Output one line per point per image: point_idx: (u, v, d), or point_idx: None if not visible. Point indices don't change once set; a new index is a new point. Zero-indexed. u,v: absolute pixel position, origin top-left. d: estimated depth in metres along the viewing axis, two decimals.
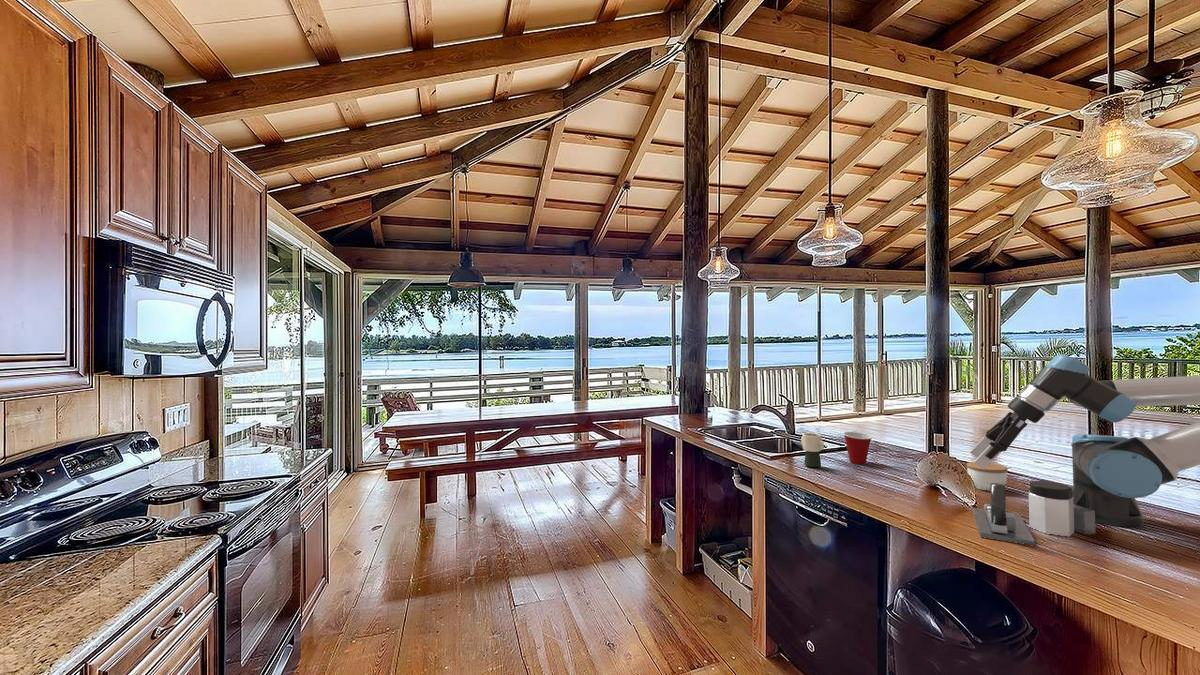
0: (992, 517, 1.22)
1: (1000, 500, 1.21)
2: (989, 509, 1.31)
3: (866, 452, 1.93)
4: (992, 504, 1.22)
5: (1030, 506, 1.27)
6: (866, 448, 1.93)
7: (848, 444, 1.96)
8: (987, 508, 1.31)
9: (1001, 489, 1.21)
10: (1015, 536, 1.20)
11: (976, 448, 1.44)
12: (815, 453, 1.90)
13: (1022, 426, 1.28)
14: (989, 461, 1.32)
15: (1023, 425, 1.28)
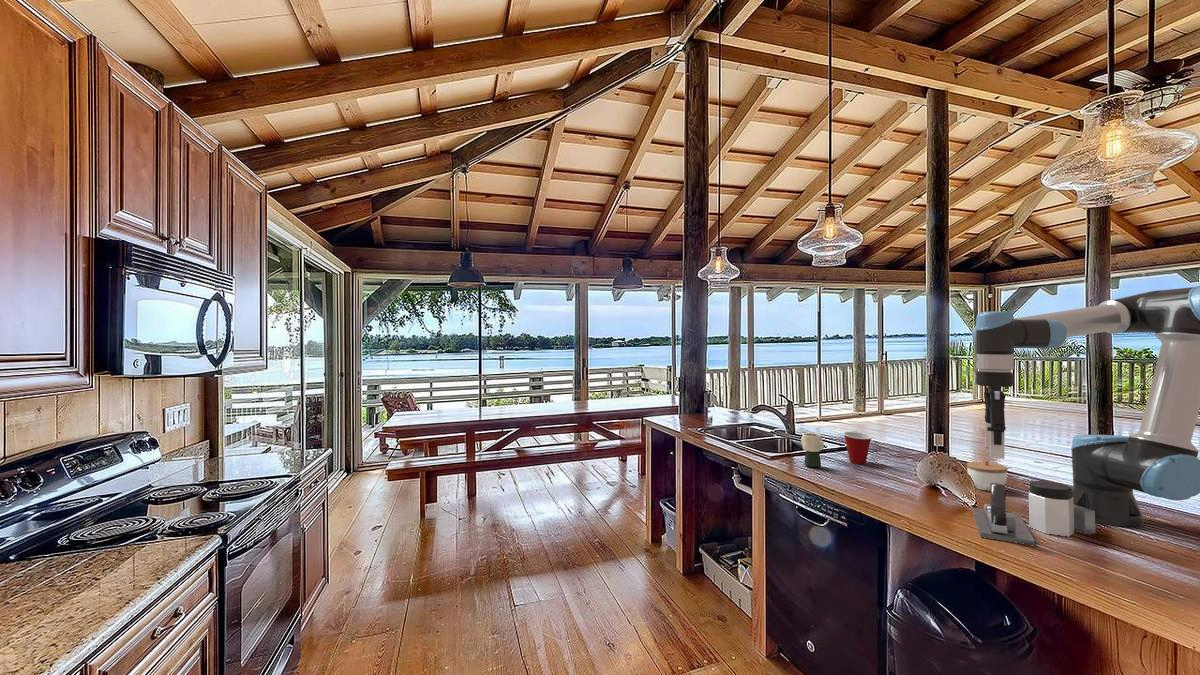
0: (992, 517, 1.22)
1: (1000, 500, 1.21)
2: (989, 509, 1.31)
3: (866, 452, 1.93)
4: (992, 504, 1.22)
5: (1030, 506, 1.27)
6: (866, 448, 1.93)
7: (848, 444, 1.96)
8: (987, 508, 1.31)
9: (1001, 489, 1.21)
10: (1015, 536, 1.20)
11: (987, 439, 1.29)
12: (815, 453, 1.90)
13: (1001, 396, 1.17)
14: (1002, 447, 1.17)
15: (1001, 395, 1.17)
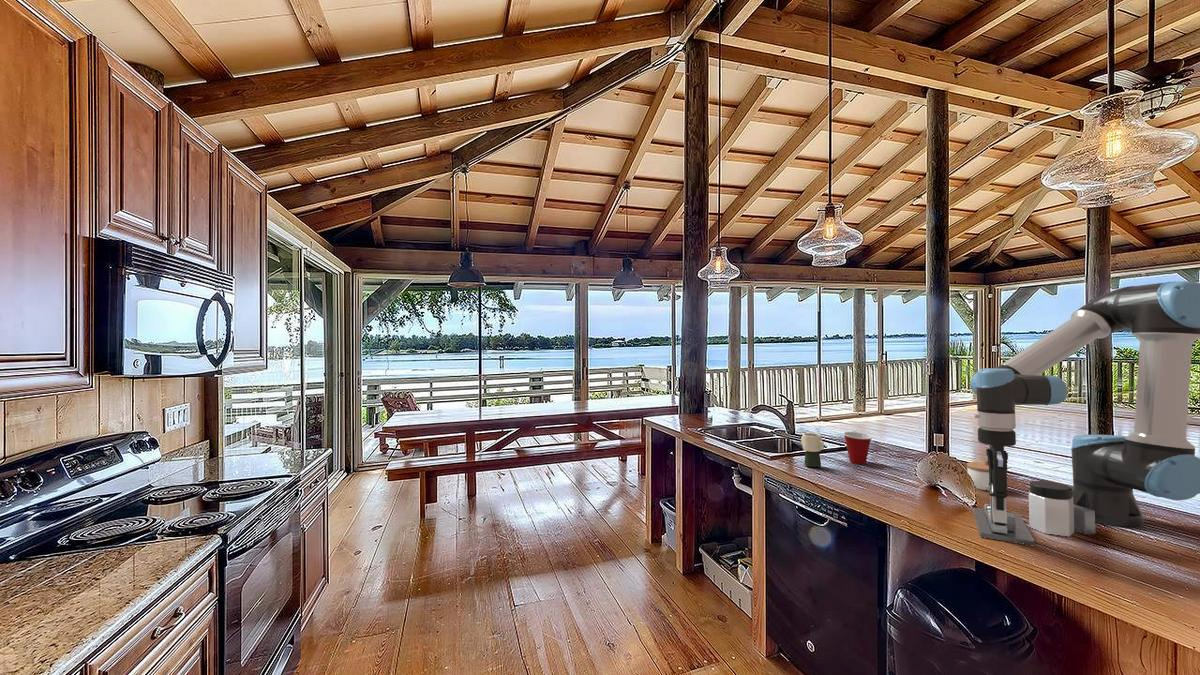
0: (992, 517, 1.22)
1: None
2: (989, 509, 1.31)
3: (866, 452, 1.93)
4: None
5: (1030, 506, 1.27)
6: (866, 448, 1.93)
7: (848, 444, 1.96)
8: (987, 508, 1.31)
9: None
10: (1015, 536, 1.20)
11: None
12: (815, 453, 1.90)
13: (1004, 465, 1.17)
14: (1004, 512, 1.20)
15: (1004, 464, 1.16)
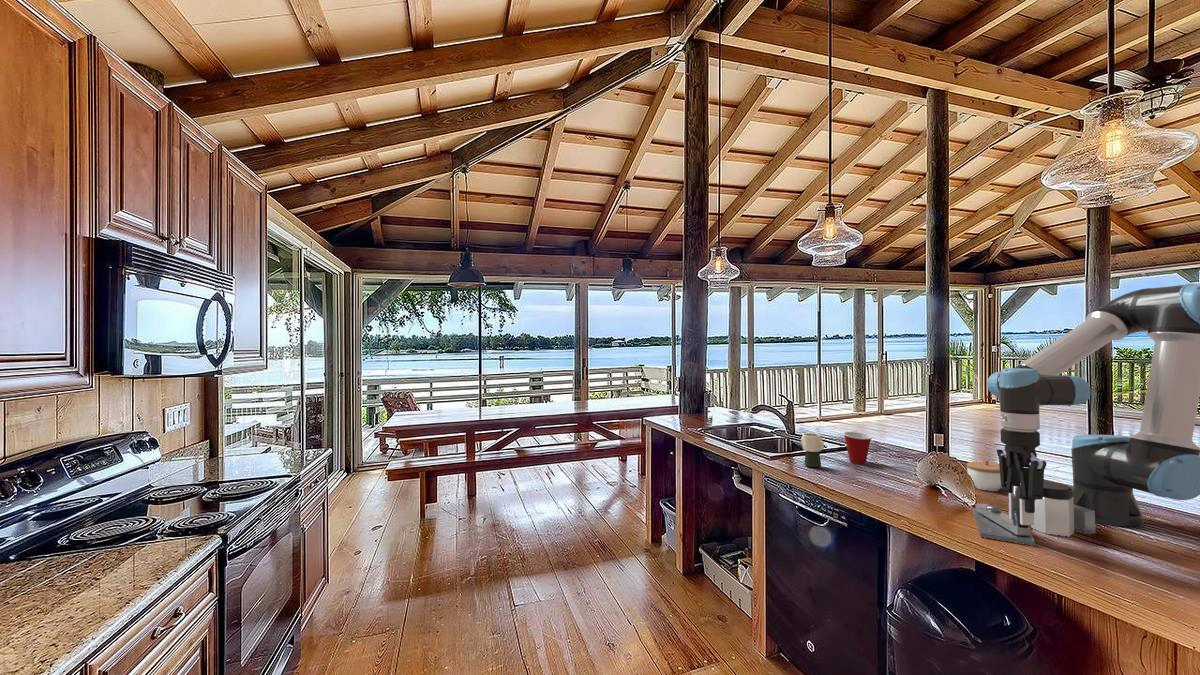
0: (1016, 520, 1.20)
1: None
2: (992, 510, 1.30)
3: (866, 452, 1.93)
4: (1016, 507, 1.20)
5: None
6: (866, 448, 1.93)
7: (848, 444, 1.96)
8: (989, 509, 1.31)
9: None
10: (1015, 536, 1.20)
11: None
12: (815, 453, 1.90)
13: (1043, 467, 1.14)
14: (1032, 514, 1.18)
15: (1043, 466, 1.14)
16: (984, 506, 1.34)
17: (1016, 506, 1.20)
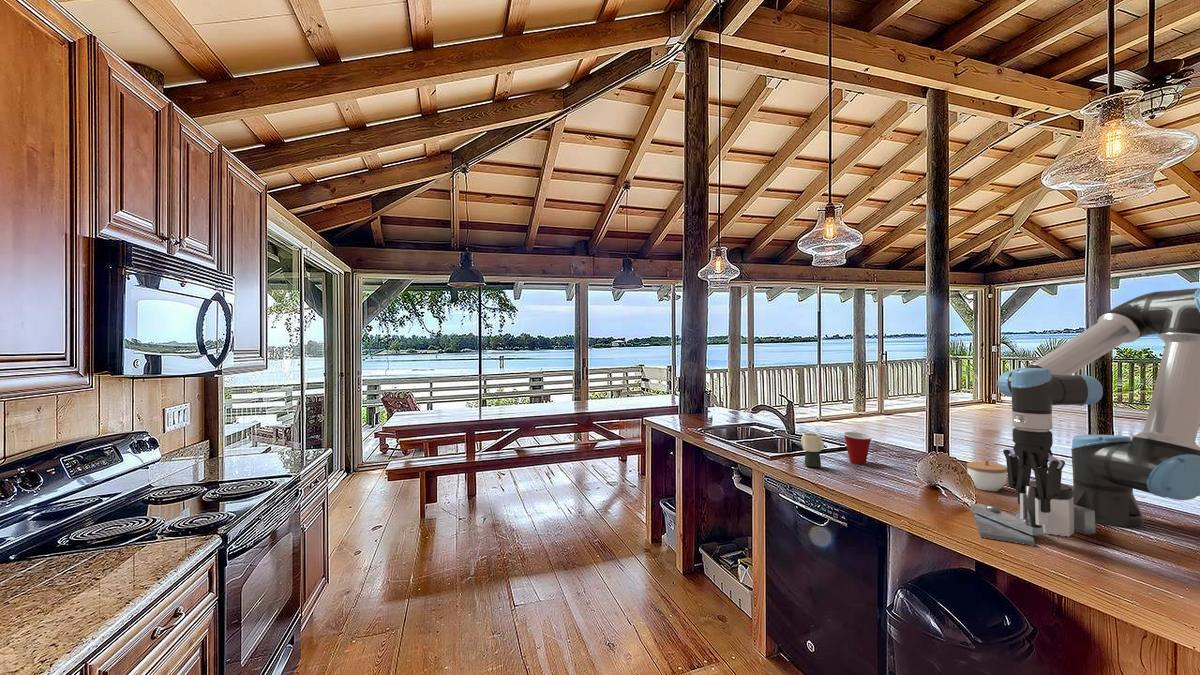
0: (1031, 520, 1.19)
1: None
2: (994, 510, 1.30)
3: (866, 452, 1.93)
4: (1032, 507, 1.19)
5: None
6: (866, 448, 1.93)
7: (848, 444, 1.96)
8: (991, 509, 1.30)
9: None
10: (1015, 536, 1.20)
11: (1024, 510, 1.22)
12: (815, 453, 1.90)
13: (1062, 466, 1.14)
14: (1046, 514, 1.18)
15: (1062, 465, 1.14)
16: (981, 506, 1.34)
17: (1031, 506, 1.19)
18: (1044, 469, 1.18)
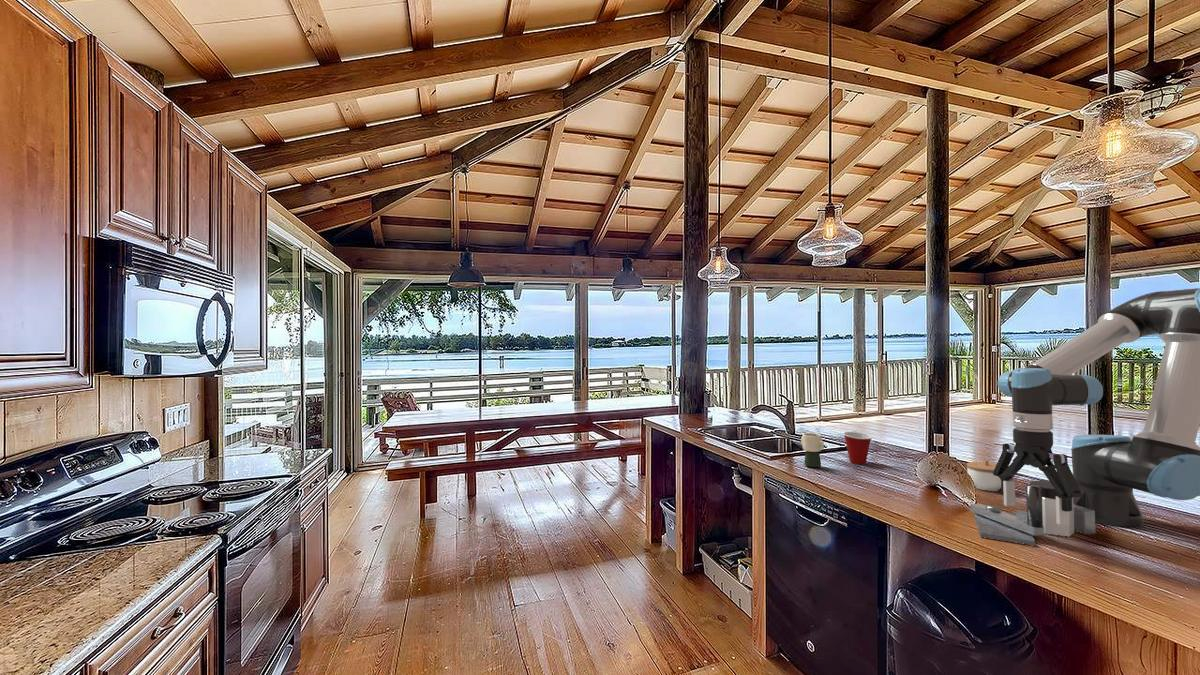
0: (1032, 520, 1.19)
1: (1041, 501, 1.19)
2: (994, 510, 1.30)
3: (866, 452, 1.93)
4: (1033, 507, 1.19)
5: None
6: (866, 448, 1.93)
7: (848, 444, 1.96)
8: (992, 509, 1.30)
9: (1041, 490, 1.19)
10: (1015, 536, 1.20)
11: (1007, 497, 1.26)
12: (815, 453, 1.90)
13: (1065, 460, 1.14)
14: (1067, 512, 1.14)
15: (1065, 458, 1.14)
16: (981, 506, 1.34)
17: (1032, 506, 1.19)
18: (1051, 467, 1.17)
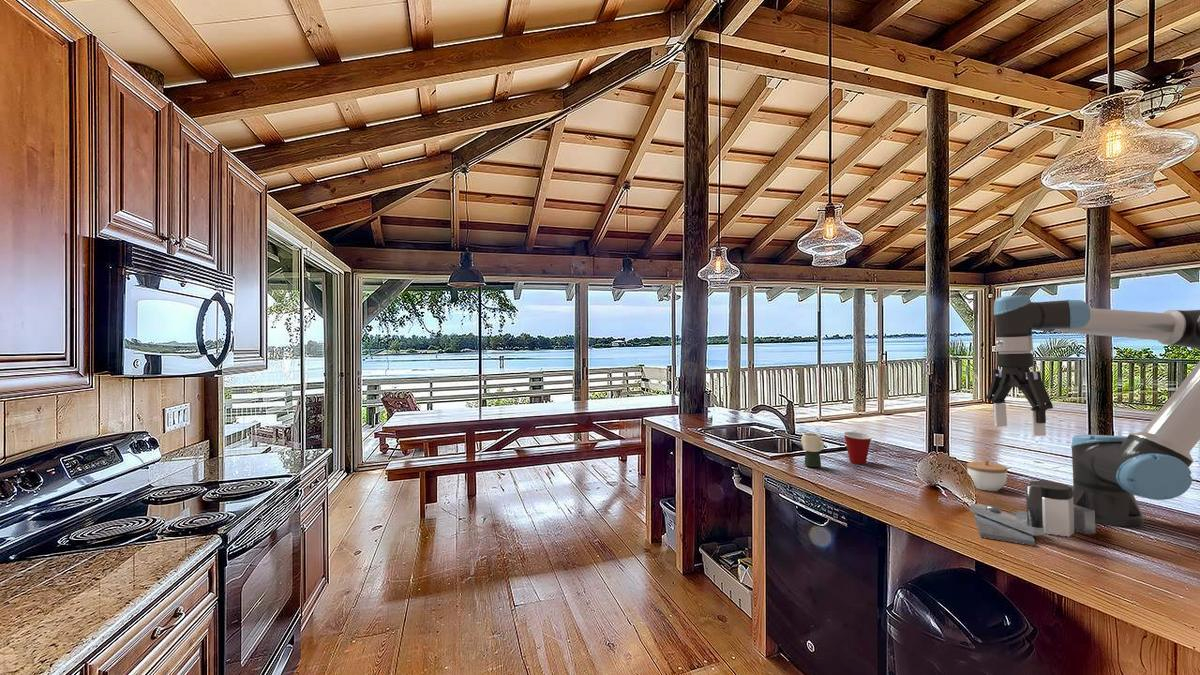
0: (1032, 520, 1.19)
1: (1041, 501, 1.19)
2: (994, 510, 1.30)
3: (866, 452, 1.93)
4: (1033, 507, 1.19)
5: None
6: (866, 448, 1.93)
7: (848, 444, 1.96)
8: (992, 509, 1.30)
9: (1041, 490, 1.19)
10: (1015, 536, 1.20)
11: (998, 418, 1.35)
12: (815, 453, 1.90)
13: (1039, 376, 1.22)
14: (1043, 425, 1.21)
15: (1038, 375, 1.22)
16: (981, 506, 1.34)
17: (1032, 506, 1.19)
18: (1029, 385, 1.25)
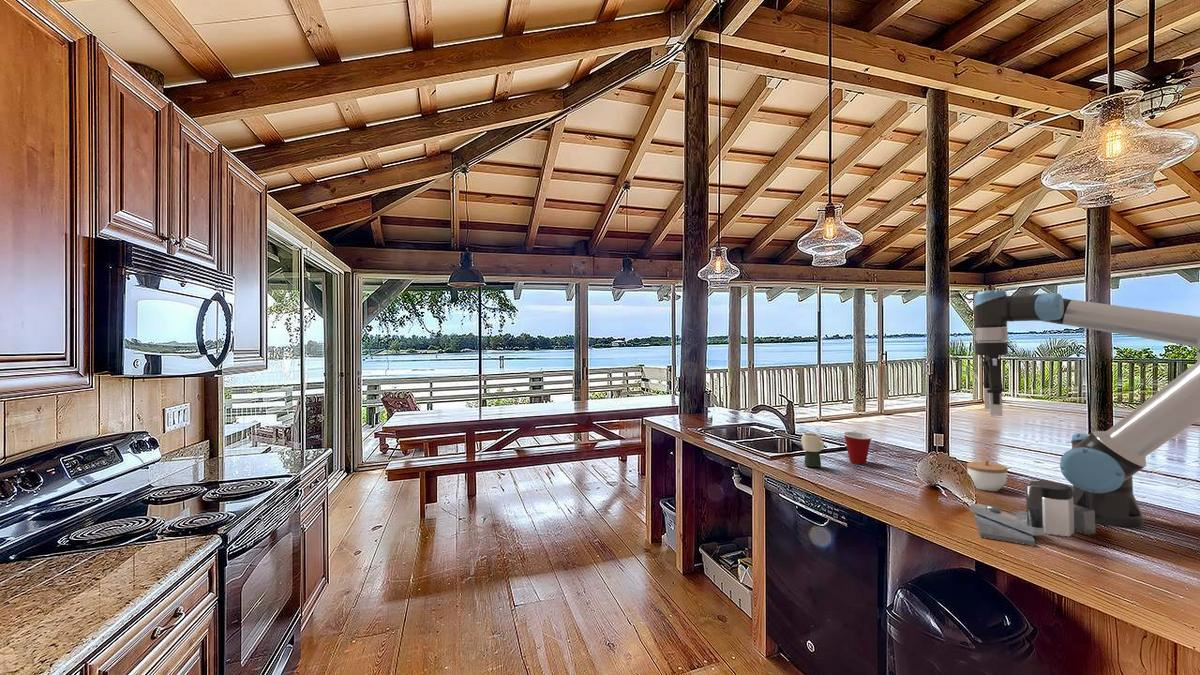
0: (1032, 520, 1.19)
1: (1041, 501, 1.19)
2: (994, 510, 1.30)
3: (866, 452, 1.93)
4: (1033, 507, 1.19)
5: None
6: (866, 448, 1.93)
7: (848, 444, 1.96)
8: (992, 509, 1.30)
9: (1041, 490, 1.19)
10: (1015, 536, 1.20)
11: (986, 402, 1.48)
12: (815, 453, 1.90)
13: (998, 363, 1.37)
14: (1000, 406, 1.36)
15: (998, 361, 1.37)
16: (981, 506, 1.34)
17: (1032, 506, 1.19)
18: None
